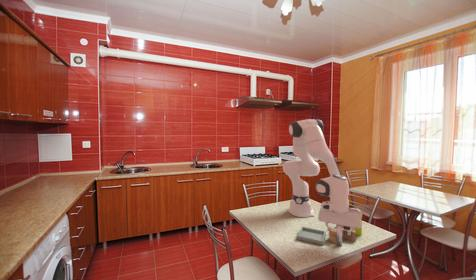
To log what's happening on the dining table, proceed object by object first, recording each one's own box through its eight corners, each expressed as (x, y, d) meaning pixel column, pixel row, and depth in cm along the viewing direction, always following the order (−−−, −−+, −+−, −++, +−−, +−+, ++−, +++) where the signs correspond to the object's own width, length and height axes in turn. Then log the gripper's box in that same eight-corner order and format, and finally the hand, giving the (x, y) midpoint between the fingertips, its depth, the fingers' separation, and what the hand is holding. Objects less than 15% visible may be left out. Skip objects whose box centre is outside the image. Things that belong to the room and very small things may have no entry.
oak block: (329, 238, 117) (329, 227, 117) (337, 239, 116) (337, 229, 115) (329, 241, 114) (329, 230, 114) (337, 243, 112) (337, 231, 112)
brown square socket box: (340, 232, 124) (340, 224, 123) (355, 235, 120) (355, 227, 120) (340, 238, 117) (340, 229, 117) (355, 241, 113) (355, 232, 113)
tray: (302, 230, 127) (302, 226, 127) (325, 235, 121) (325, 231, 121) (297, 239, 115) (297, 235, 115) (322, 245, 109) (323, 241, 109)
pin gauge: (336, 243, 112) (336, 221, 111) (342, 244, 110) (342, 222, 110) (335, 245, 109) (336, 223, 109) (341, 247, 108) (342, 224, 108)
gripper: (362, 207, 107) (361, 234, 107) (319, 201, 117) (319, 226, 117) (362, 211, 101) (362, 240, 101) (317, 204, 111) (317, 230, 111)
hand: (338, 232), depth 109 cm, fingers open, 8 cm apart
